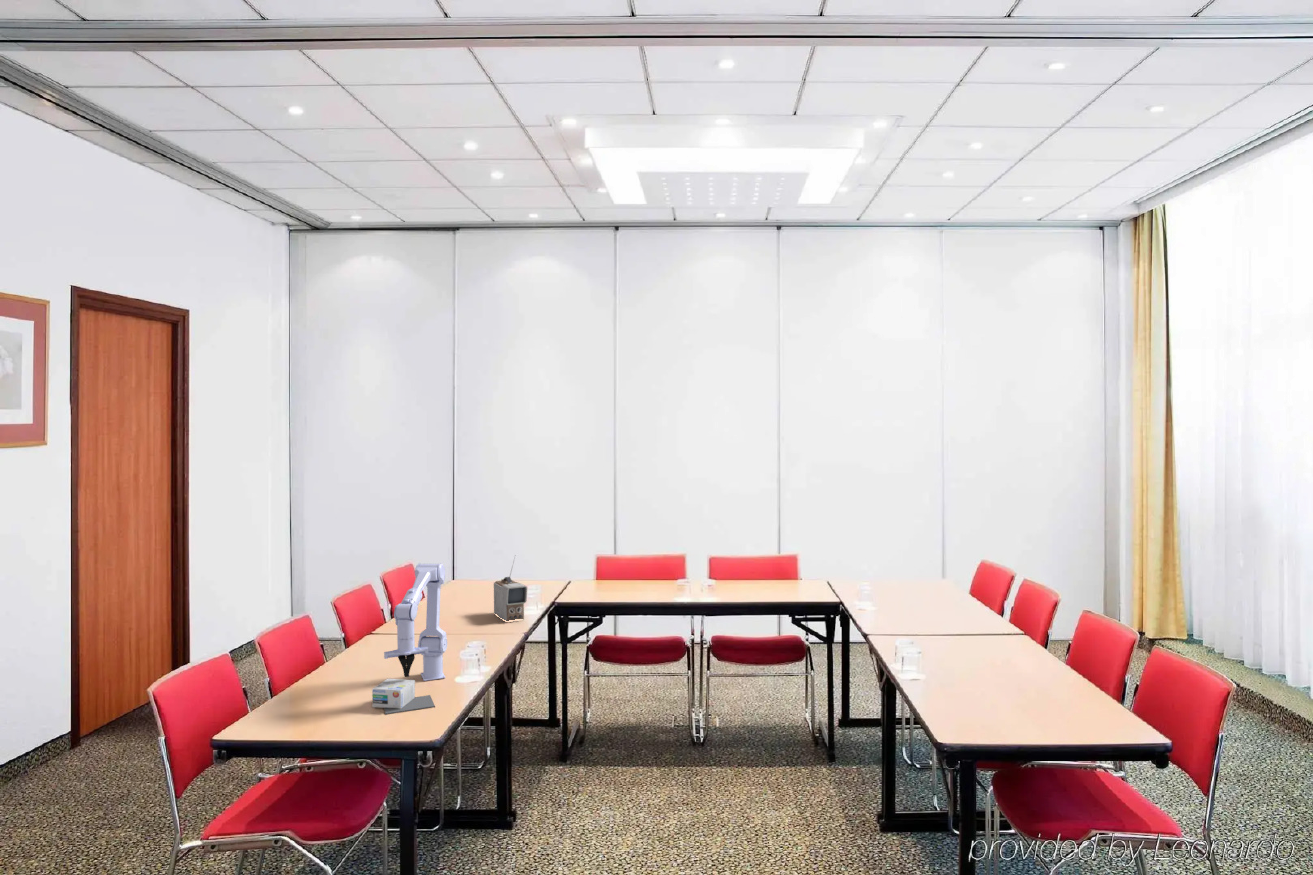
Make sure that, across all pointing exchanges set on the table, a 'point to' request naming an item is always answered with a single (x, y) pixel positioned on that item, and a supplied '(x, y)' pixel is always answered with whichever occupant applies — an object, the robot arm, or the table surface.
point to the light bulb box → (393, 693)
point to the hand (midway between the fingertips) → (406, 676)
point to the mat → (413, 705)
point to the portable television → (509, 598)
